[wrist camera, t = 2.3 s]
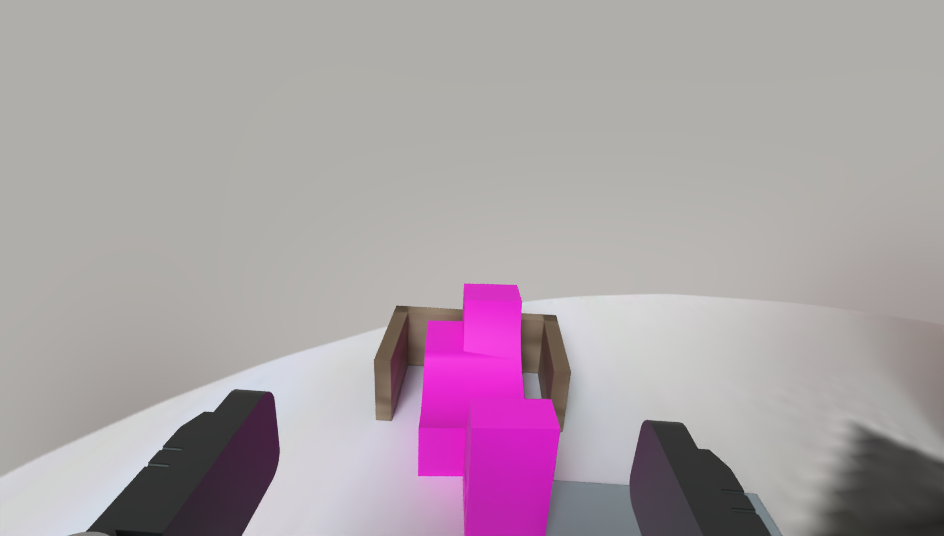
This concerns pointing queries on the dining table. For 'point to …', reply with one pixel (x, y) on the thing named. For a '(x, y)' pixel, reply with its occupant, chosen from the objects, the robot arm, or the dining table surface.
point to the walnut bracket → (410, 323)
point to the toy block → (487, 417)
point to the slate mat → (606, 510)
